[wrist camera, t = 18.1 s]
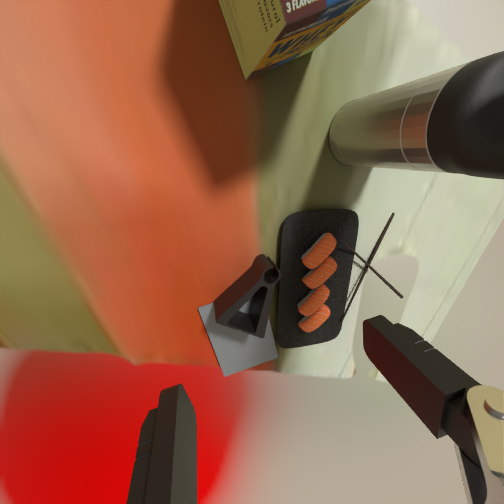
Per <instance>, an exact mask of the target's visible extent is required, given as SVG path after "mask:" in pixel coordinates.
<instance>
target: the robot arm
mask: <svg viewBox="0 0 504 504" xmlns="http://www.w3.org/2000/svg"><path fill="white" fill-rule="evenodd" d="M329 143H330V148H331V151H332V153H333V155H334V156H335V158H336V159H337V160H338V161H339V162H341V163H343V164H346V165H353V166H365V167H378V168H392V169H405V170H418V171H433V172H447V173H459V174H466V175H470V176H476V177H484V178H495V179H504V51H503V52H499V53H495V54H492V55H489V56H486V57H483V58H480V59H477V60H475V61H472V62H469V63H466V64H463V65H460V66H457V67H454V68H451V69H447V70H445V71H442V72H439V73H436V74H433V75H430V76H427V77H424V78H421V79H418V80H415V81H412V82H409V83H406V84H402V85H399V86H396V87H393V88H390V89H387V90H384V91H381V92H378V93H375V94H372V95H369V96H366V97H363V98H360V99H357V100H354V101H351V102H349V103H347V104H346V105H344V106H343V107H342V108H341V109H340V110H339V111H338V113H337V114H336V116H335V117H334V119H333V121H332V124H331V127H330V132H329ZM363 346H364V350H365V352H366V354H367V356H368V358H369V359H370V361H371V362H372V363H373V364H374V365H375V367H376V368H377V369H378V370H379V371H380V372H381V374H382V375H383V376H384V377H385V378H386V379H387V381H388V382H389V383H390V384H391V385H392V386H393V388H394V389H395V390H396V391H397V392H398V394H399V395H400V396H401V397H402V398H403V399H404V401H405V402H406V403H407V404H408V405H409V407H411V409H412V410H413V411H414V412H415V413H416V415H417V416H418V417H419V418H420V419H421V421H422V422H423V423H424V424H425V425H426V426H427V428H428V429H429V430H430V431H431V432H432V434H433V435H434V436H435V437H436V438H437V439H438V438H441V437H443V436H445V435H449V436H450V438H452V440H453V441H454V442H455V451H456V455H457V459H458V463H459V468H460V472H461V476H462V480H463V485H464V489H465V493H466V497H467V501H468V504H504V391H503V390H500V389H498V388H495V387H491V386H485V385H481V384H480V383H478V382H477V381H475V380H474V379H473V378H471V377H470V376H469V375H468V374H466V373H465V372H464V371H463V370H461V369H460V368H459V367H458V366H456V365H455V364H454V363H453V362H452V361H450V360H449V359H448V358H447V357H446V356H444V355H443V354H442V353H441V352H439V351H438V350H437V349H434V347H433V346H432V345H431V344H429V343H428V342H427V341H424V339H423V338H422V337H421V336H420V335H418V334H417V333H416V332H415V331H413V330H412V329H410V328H408V327H406V326H403V325H401V324H399V323H397V324H392V323H391V322H390V321H389V320H388V319H386V318H385V317H384V316H382V315H379V316H376V317H373V318H370V319H367V320H364V322H363ZM138 444H139V446H138V448H137V452H136V461H135V463H134V468H133V473H132V478H131V483H130V488H129V494H128V499H127V504H197V423H196V414H195V410H194V407H193V405H192V403H191V401H190V399H189V397H188V395H187V393H186V391H185V389H184V387H183V385H182V384H178V385H175V386H172V387H169V388H167V389H164V390H162V391H161V393H160V397H159V405H158V408H155V409H152V410H150V411H149V413H148V415H147V417H146V419H145V421H144V422H143V424H142V427H141V432H140V437H139V443H138Z"/></svg>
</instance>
